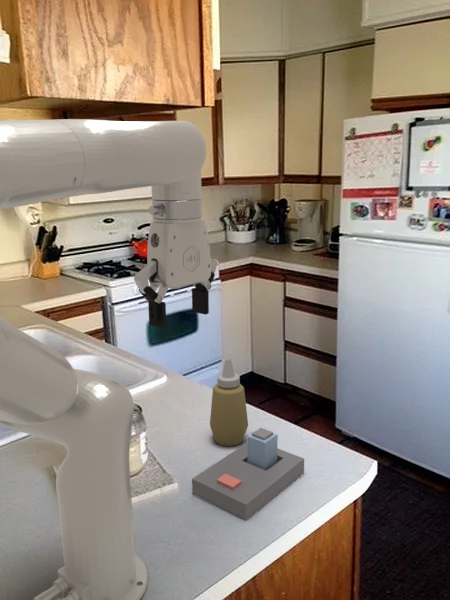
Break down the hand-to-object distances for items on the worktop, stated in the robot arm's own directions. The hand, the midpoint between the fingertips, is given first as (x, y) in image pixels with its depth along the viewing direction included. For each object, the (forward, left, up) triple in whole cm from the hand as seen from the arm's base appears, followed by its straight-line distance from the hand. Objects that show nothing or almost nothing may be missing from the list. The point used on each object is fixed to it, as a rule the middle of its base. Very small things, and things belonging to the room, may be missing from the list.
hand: (179, 319), depth 88 cm
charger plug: (+15, -6, -33) cm, 37 cm away
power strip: (+11, -6, -33) cm, 35 cm away
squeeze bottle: (+21, +7, -33) cm, 40 cm away
